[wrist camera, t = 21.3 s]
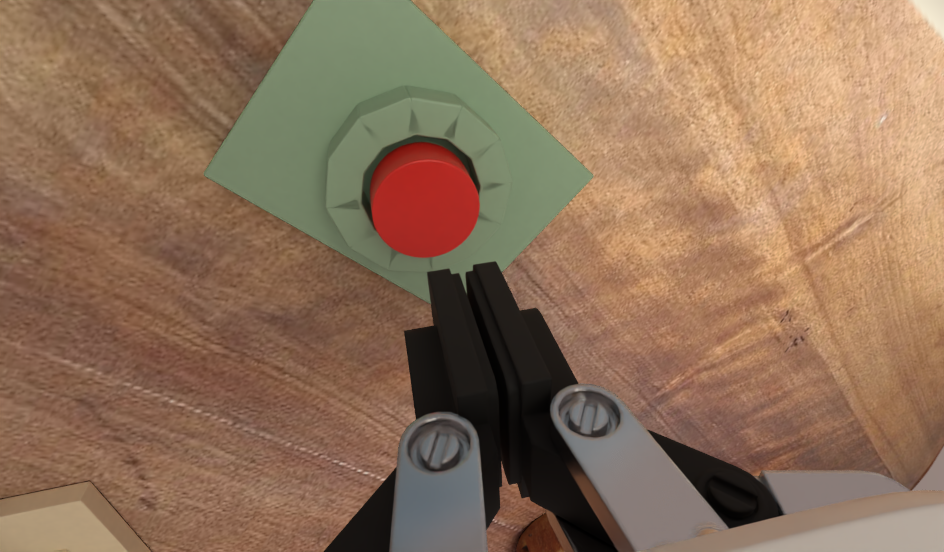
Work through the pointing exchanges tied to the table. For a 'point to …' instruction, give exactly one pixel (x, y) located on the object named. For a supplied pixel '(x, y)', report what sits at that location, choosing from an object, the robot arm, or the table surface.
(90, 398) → the table surface
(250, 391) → the table surface
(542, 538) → the bread roll
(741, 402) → the table surface
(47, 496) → the lever bracket
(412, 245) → the button
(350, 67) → the button block
